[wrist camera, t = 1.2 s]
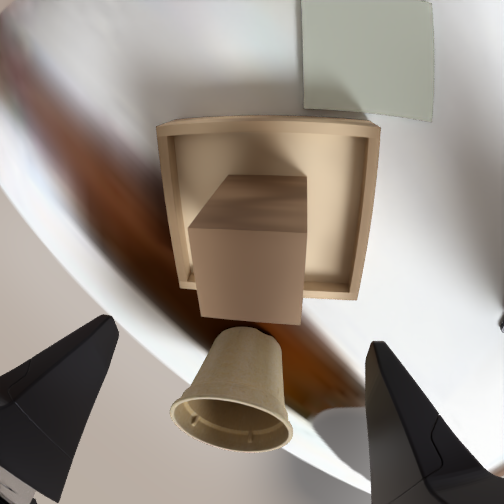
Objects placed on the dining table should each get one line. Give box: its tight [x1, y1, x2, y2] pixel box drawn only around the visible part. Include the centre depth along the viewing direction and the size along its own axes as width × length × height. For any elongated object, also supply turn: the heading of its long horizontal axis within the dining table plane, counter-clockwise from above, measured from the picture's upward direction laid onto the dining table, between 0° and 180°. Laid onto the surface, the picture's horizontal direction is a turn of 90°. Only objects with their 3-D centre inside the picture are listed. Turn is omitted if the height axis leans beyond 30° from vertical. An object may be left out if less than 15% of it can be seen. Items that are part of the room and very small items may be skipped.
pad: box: [301, 0, 434, 122], centre depth 14 cm, size 8×8×1 cm
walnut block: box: [188, 175, 307, 325], centre depth 16 cm, size 4×4×7 cm
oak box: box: [156, 115, 381, 300], centre depth 19 cm, size 12×11×3 cm
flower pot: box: [170, 327, 293, 453], centre depth 24 cm, size 9×9×9 cm
